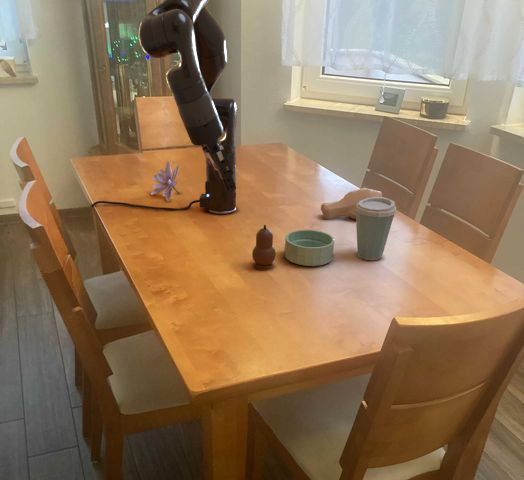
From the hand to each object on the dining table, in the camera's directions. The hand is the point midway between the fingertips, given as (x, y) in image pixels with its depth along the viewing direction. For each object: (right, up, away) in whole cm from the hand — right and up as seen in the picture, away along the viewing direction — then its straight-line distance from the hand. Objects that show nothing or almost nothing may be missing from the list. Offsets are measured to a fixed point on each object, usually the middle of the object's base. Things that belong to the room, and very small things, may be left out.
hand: (226, 183), depth 126 cm
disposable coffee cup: (+37, -13, +22) cm, 46 cm away
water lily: (-25, +14, +60) cm, 67 cm away
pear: (+9, -17, +15) cm, 24 cm away
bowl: (+21, -14, +20) cm, 32 cm away
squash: (+37, +4, +48) cm, 60 cm away
